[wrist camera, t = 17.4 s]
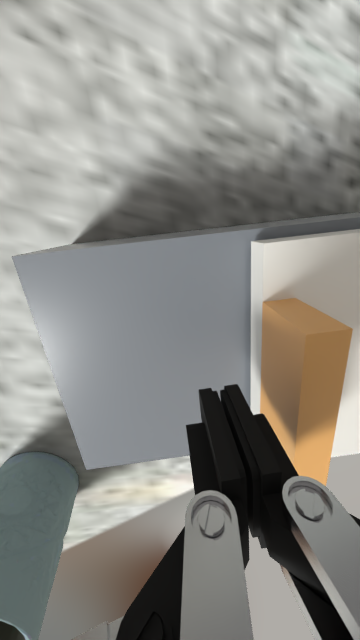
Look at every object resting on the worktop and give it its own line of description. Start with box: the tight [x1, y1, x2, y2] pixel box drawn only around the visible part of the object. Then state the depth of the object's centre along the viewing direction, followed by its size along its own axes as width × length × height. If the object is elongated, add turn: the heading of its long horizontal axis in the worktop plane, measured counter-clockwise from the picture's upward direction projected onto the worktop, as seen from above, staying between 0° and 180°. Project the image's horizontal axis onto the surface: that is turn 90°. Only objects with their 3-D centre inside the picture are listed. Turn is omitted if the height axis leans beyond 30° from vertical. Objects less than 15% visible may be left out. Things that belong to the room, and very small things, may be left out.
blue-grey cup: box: [0, 452, 79, 640], centre depth 22 cm, size 10×10×12 cm
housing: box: [12, 212, 360, 470], centre depth 18 cm, size 22×14×8 cm, turn 96°
